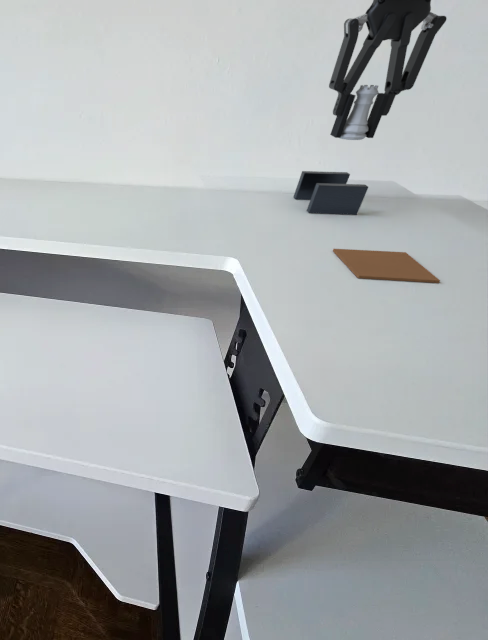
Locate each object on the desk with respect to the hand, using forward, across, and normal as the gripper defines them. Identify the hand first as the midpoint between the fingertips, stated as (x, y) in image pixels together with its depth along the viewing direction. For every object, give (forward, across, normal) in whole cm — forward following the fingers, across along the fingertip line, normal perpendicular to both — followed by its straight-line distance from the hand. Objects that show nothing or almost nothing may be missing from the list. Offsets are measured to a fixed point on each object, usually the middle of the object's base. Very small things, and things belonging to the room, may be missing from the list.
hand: (351, 136), depth 87 cm
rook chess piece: (0, 0, 0) cm, 0 cm away
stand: (+12, 0, 0) cm, 12 cm away
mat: (+12, +1, +28) cm, 31 cm away
